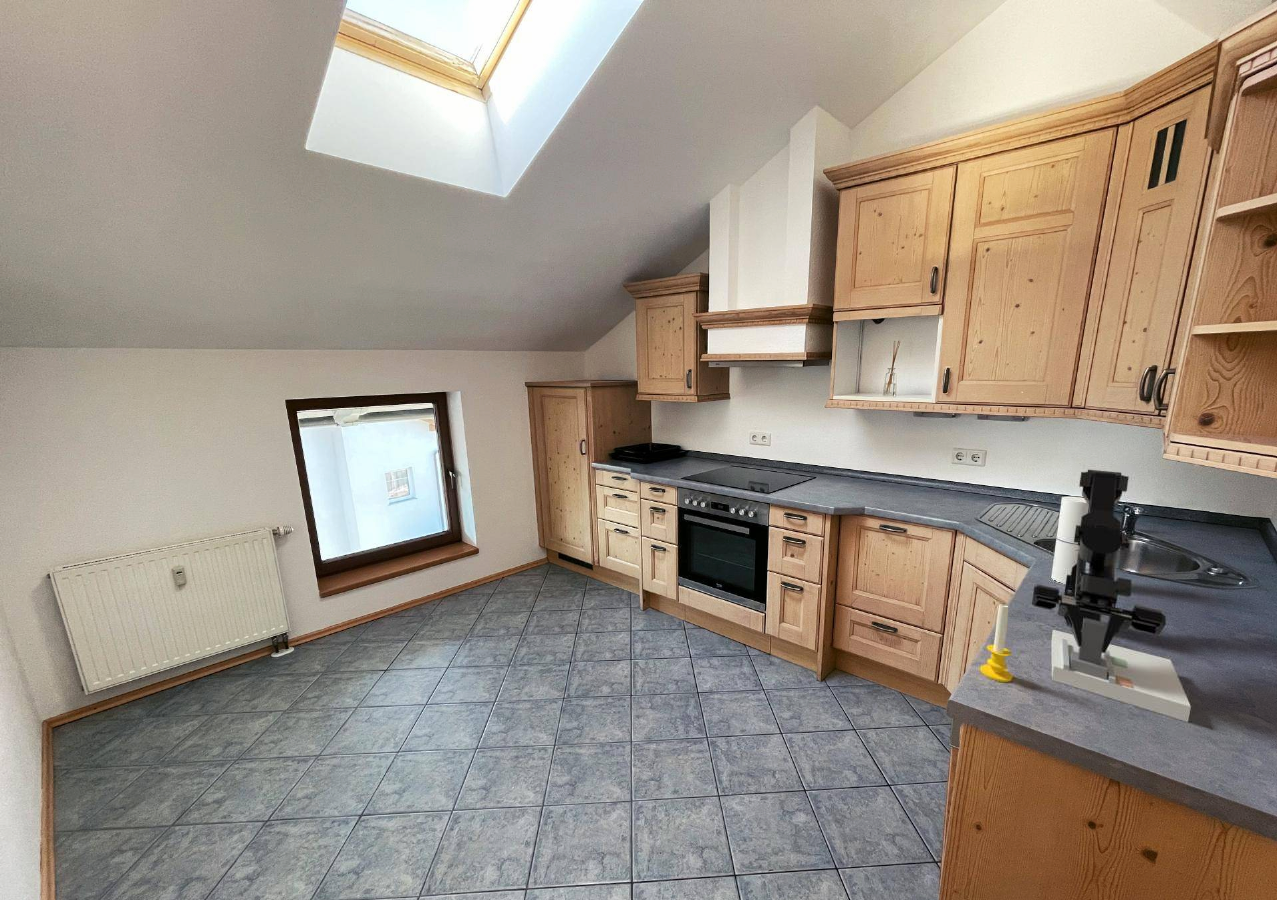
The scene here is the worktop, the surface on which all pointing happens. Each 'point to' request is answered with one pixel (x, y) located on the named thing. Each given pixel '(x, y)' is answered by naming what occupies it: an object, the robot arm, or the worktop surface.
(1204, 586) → the worktop surface
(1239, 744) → the worktop surface
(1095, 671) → the handle
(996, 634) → the candle
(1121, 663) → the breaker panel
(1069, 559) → the cylindrical container
